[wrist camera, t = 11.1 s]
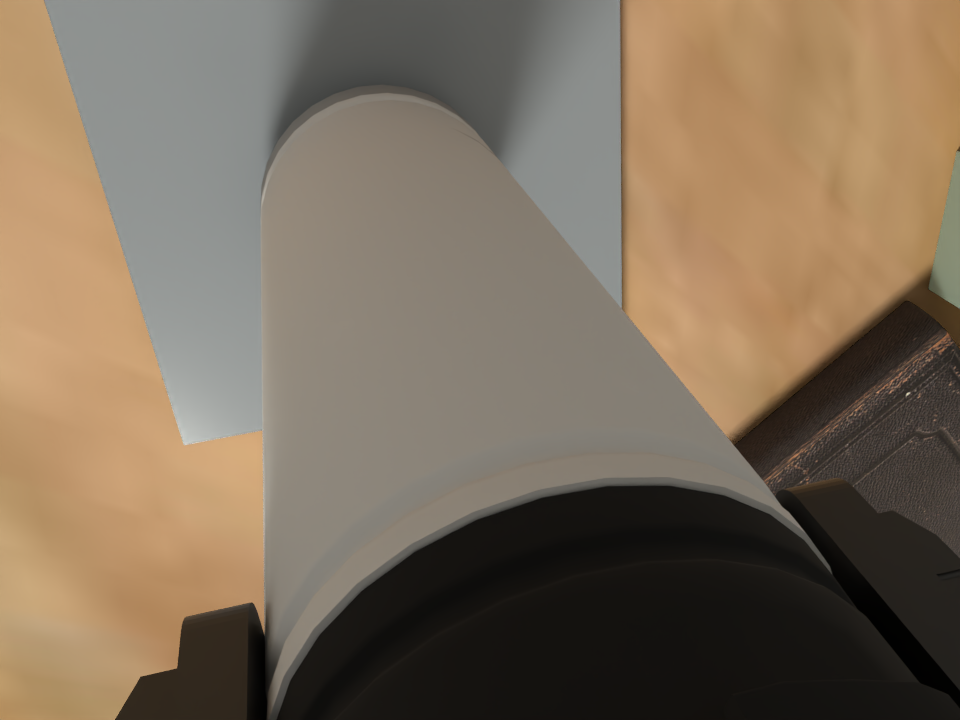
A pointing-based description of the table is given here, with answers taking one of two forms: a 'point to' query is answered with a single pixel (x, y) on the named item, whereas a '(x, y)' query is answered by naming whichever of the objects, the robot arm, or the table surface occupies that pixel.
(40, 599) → the table surface
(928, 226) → the table surface
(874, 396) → the hardcover book
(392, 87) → the travel mug
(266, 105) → the slate board
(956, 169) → the sage block
